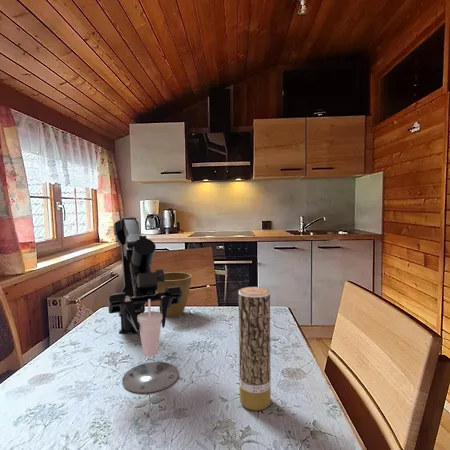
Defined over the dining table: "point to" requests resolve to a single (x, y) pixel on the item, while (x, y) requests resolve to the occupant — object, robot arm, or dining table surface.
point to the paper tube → (254, 347)
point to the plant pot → (184, 283)
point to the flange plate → (150, 377)
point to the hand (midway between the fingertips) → (151, 329)
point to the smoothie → (150, 330)
